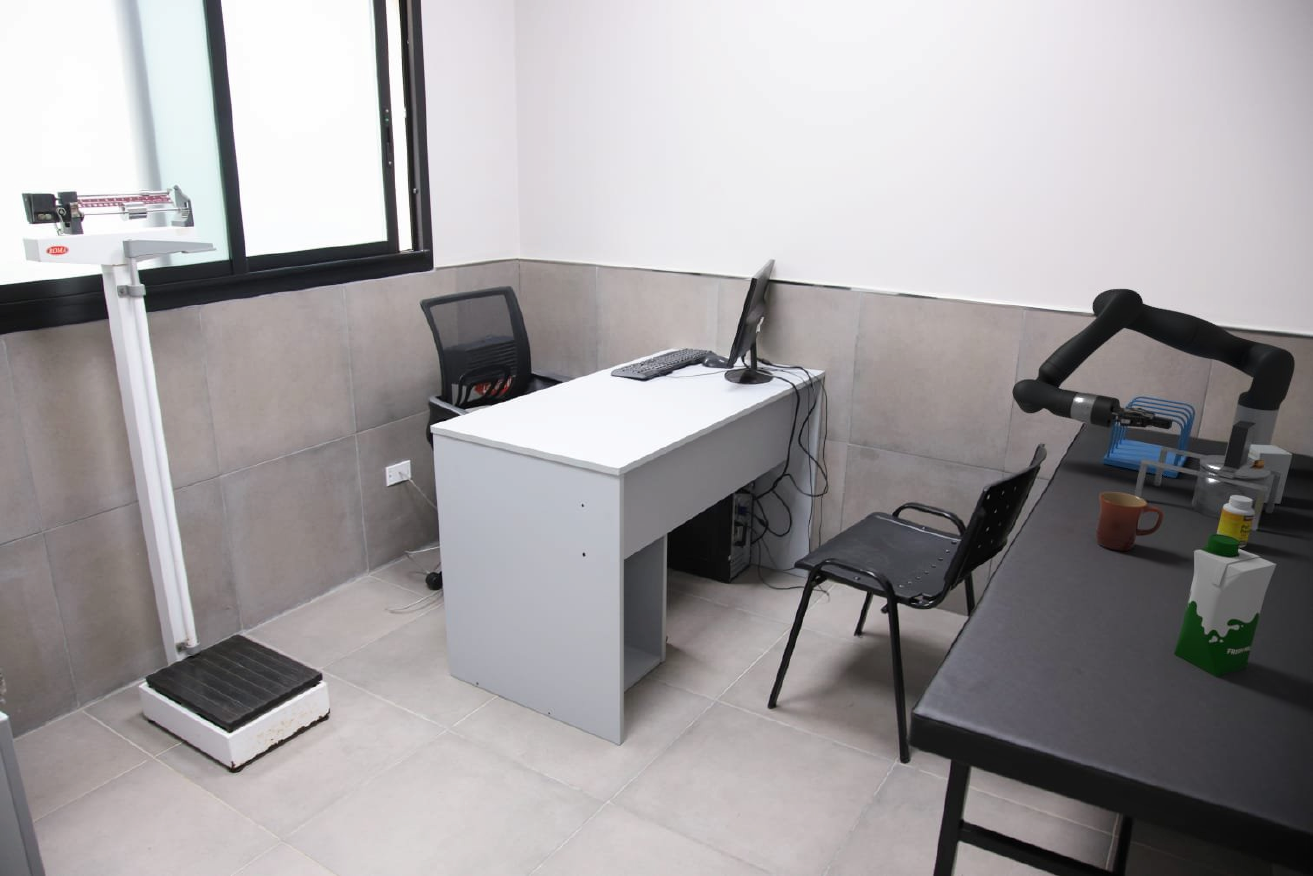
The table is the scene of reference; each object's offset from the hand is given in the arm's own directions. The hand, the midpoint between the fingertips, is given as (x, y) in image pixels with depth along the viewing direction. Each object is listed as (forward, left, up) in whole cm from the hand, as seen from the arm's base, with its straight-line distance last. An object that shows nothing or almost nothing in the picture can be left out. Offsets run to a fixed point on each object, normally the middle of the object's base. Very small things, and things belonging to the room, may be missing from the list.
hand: (1171, 424), depth 206 cm
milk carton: (+79, +30, -18) cm, 86 cm away
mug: (+41, +5, -18) cm, 45 cm away
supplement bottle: (+21, +20, -18) cm, 34 cm away
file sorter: (-28, -11, -18) cm, 35 cm away
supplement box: (-17, +17, -18) cm, 30 cm away
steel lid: (0, +14, -7) cm, 16 cm away
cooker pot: (0, +10, -18) cm, 20 cm away
